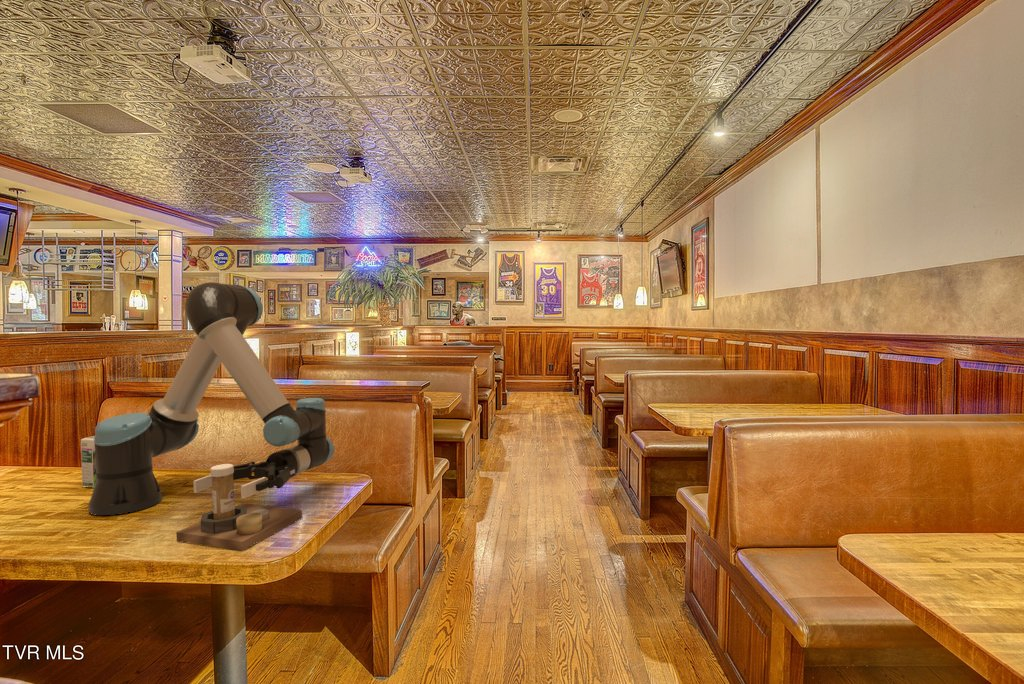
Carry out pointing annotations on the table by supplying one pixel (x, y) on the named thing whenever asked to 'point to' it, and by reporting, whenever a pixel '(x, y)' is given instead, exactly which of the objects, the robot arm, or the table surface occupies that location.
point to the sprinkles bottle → (223, 491)
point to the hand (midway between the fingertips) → (217, 489)
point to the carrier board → (238, 540)
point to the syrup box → (88, 462)
